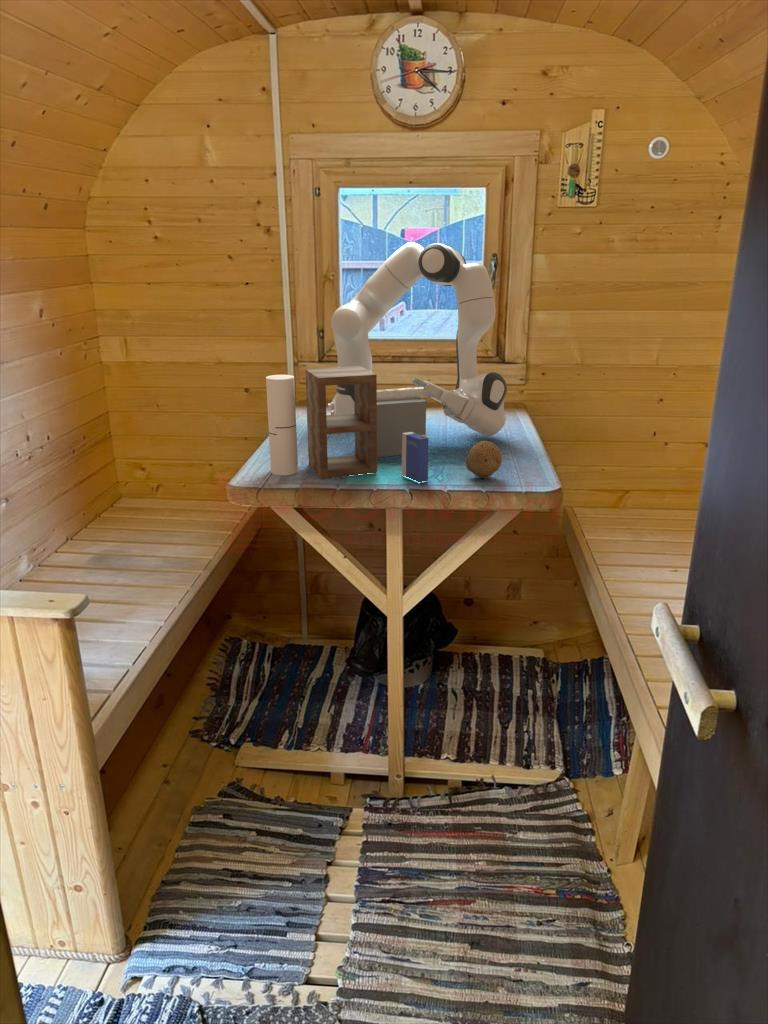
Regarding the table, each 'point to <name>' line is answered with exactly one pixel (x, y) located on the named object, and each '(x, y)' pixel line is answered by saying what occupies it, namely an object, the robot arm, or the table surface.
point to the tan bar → (402, 393)
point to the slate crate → (398, 423)
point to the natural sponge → (484, 459)
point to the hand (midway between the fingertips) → (419, 383)
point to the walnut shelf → (342, 421)
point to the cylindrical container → (282, 424)
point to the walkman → (415, 456)
